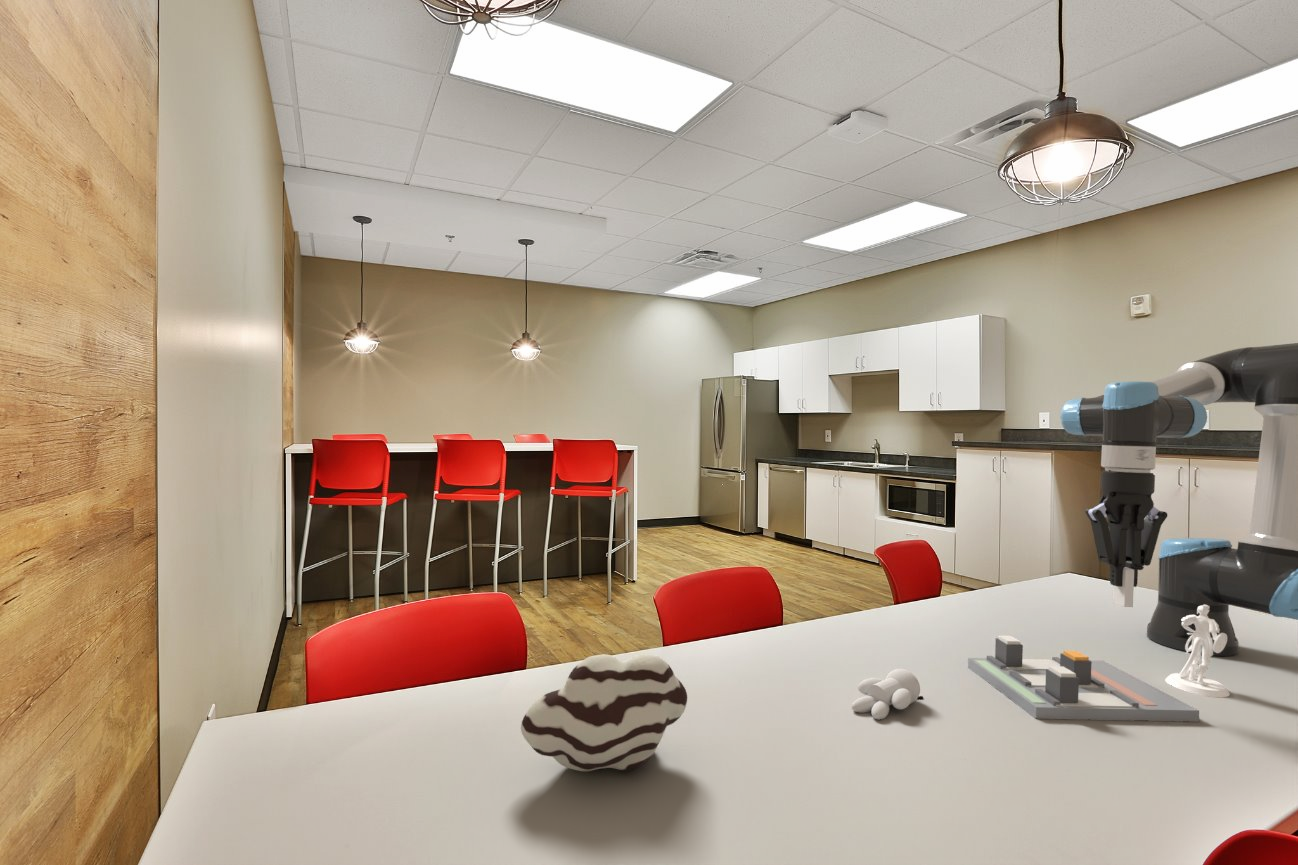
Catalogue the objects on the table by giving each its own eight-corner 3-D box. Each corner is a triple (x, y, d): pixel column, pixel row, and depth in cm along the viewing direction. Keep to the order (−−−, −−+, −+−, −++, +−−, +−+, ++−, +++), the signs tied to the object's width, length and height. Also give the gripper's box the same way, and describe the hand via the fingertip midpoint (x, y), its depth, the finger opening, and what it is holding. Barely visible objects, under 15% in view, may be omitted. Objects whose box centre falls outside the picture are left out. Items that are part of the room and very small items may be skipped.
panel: (1102, 669, 121) (1103, 656, 121) (1198, 721, 100) (1199, 706, 100) (967, 667, 120) (968, 654, 120) (1035, 718, 99) (1036, 702, 99)
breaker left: (1010, 659, 119) (1011, 635, 119) (1022, 666, 116) (1022, 641, 116) (995, 659, 119) (995, 635, 119) (1005, 666, 116) (1006, 641, 116)
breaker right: (1063, 693, 104) (1064, 665, 104) (1078, 702, 101) (1079, 674, 101) (1045, 692, 104) (1046, 665, 104) (1059, 702, 101) (1060, 674, 101)
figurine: (1242, 694, 111) (1245, 609, 111) (1208, 699, 108) (1211, 613, 108) (1186, 674, 119) (1188, 596, 119) (1153, 679, 116) (1156, 599, 116)
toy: (883, 732, 96) (939, 705, 104) (884, 696, 95) (939, 671, 104) (839, 711, 102) (894, 686, 111) (839, 677, 102) (894, 655, 111)
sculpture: (673, 736, 91) (675, 633, 91) (704, 783, 79) (707, 666, 79) (516, 755, 85) (518, 646, 85) (524, 810, 73) (526, 683, 73)
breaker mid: (1076, 676, 112) (1077, 650, 112) (1090, 684, 108) (1091, 657, 108) (1059, 675, 112) (1060, 650, 112) (1073, 684, 108) (1074, 657, 108)
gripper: (1106, 470, 106) (1101, 610, 106) (1183, 473, 106) (1177, 612, 106) (1075, 467, 113) (1071, 597, 114) (1147, 469, 113) (1142, 599, 114)
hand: (1122, 604), depth 110 cm, fingers closed
